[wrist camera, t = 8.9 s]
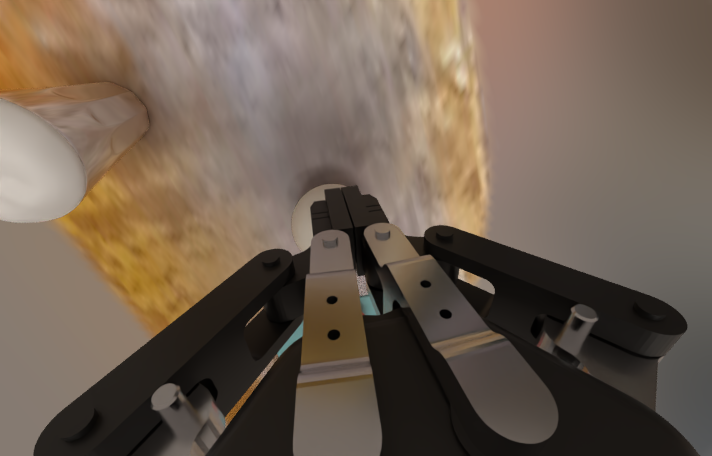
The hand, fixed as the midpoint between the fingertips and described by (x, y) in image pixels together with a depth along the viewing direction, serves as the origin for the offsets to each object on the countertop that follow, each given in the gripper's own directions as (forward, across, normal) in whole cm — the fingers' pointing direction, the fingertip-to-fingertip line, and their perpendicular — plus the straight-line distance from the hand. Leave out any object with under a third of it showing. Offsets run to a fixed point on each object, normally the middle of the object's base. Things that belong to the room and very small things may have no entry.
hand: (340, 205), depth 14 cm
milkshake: (+8, +12, -3) cm, 15 cm away
